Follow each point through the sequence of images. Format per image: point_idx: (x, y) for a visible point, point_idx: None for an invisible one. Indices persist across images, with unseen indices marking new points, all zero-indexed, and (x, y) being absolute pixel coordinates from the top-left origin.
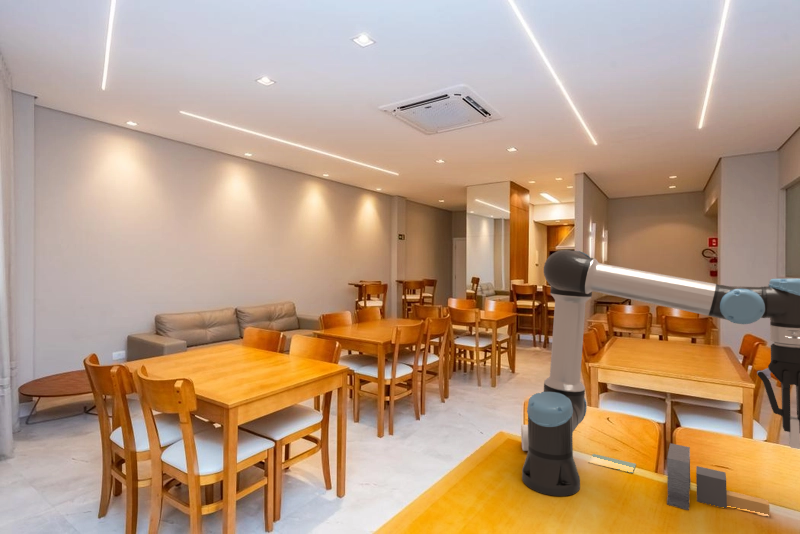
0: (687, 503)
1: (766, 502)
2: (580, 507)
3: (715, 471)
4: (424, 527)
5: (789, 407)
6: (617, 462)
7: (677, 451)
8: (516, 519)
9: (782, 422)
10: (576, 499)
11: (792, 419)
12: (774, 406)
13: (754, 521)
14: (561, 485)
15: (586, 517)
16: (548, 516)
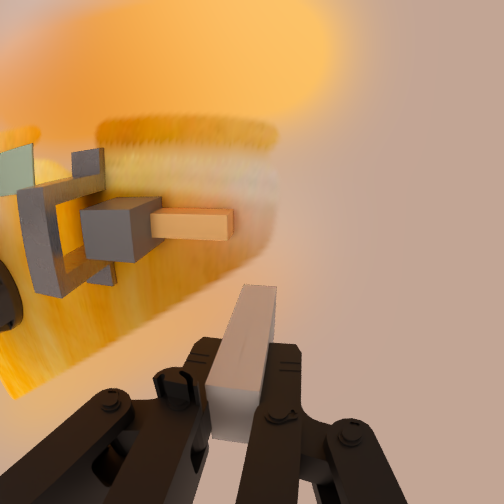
0: (109, 276)
1: (223, 230)
2: (40, 337)
3: (111, 218)
4: (18, 398)
5: (187, 500)
6: (14, 163)
7: (33, 239)
8: (31, 376)
9: (185, 364)
10: (29, 320)
11: (223, 436)
12: (110, 469)
13: (207, 264)
14: (11, 326)
15: (53, 355)
16: (37, 364)
